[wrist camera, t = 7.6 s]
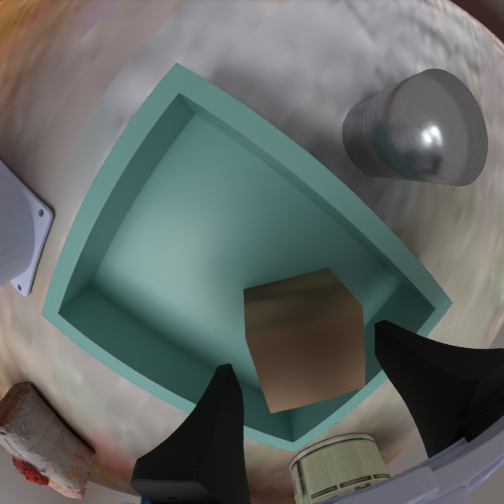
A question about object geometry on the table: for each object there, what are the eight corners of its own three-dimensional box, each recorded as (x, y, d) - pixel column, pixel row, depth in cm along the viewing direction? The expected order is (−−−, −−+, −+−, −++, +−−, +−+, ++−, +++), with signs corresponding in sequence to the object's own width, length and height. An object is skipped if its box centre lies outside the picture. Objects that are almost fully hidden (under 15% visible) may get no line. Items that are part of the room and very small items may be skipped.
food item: (108, 457, 22) (88, 515, 13) (71, 453, 23) (50, 502, 13) (34, 379, 19) (-9, 438, 9) (6, 382, 19) (-30, 429, 10)
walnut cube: (263, 356, 17) (270, 413, 12) (243, 289, 15) (245, 338, 11) (337, 336, 17) (364, 386, 12) (328, 267, 15) (362, 306, 10)
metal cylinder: (326, 139, 14) (386, 118, 8) (369, 86, 13) (435, 48, 7) (384, 194, 15) (460, 211, 9) (421, 140, 14) (497, 134, 8)
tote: (81, 281, 16) (41, 314, 11) (195, 95, 13) (176, 62, 8) (284, 404, 19) (293, 452, 15) (409, 273, 17) (452, 302, 12)
